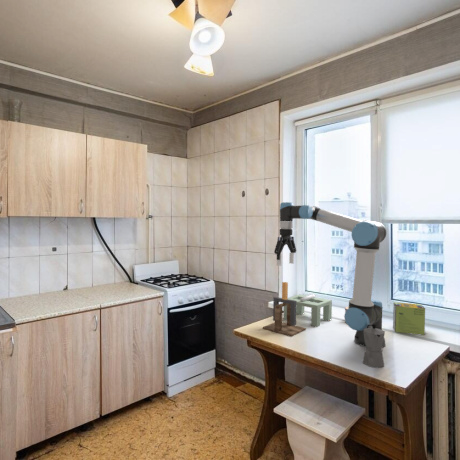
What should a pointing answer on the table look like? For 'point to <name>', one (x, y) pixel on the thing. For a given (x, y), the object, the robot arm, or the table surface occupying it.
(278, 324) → the walnut rack
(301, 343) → the table surface
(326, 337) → the table surface
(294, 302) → the dark grey arch
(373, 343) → the coffeepot
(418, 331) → the protein box
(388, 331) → the table surface
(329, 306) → the pale green table
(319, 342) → the table surface
